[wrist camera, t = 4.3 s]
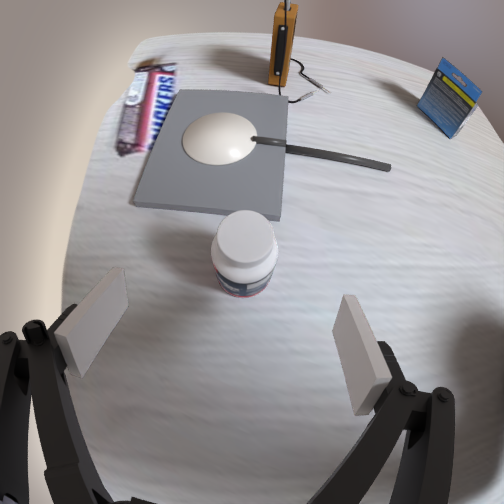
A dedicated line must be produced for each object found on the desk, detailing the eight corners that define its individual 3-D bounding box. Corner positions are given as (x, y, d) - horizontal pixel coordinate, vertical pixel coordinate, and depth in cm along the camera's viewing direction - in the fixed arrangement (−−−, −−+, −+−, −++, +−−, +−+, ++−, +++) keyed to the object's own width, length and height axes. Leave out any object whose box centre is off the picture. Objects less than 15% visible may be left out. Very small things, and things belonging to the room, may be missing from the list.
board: (376, 120, 37) (380, 112, 35) (397, 238, 30) (405, 231, 28) (180, 95, 37) (179, 86, 36) (136, 206, 30) (131, 198, 28)
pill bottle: (206, 265, 28) (192, 225, 20) (249, 238, 29) (253, 189, 21) (237, 309, 27) (234, 286, 18) (281, 279, 28) (298, 243, 19)
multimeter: (330, 112, 37) (365, -7, 18) (263, 99, 37) (274, -25, 19) (330, 66, 42) (352, -26, 24) (276, 55, 43) (286, -38, 24)
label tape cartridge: (457, 135, 38) (489, 91, 27) (449, 140, 38) (483, 92, 26) (425, 102, 41) (450, 56, 29) (415, 105, 40) (441, 56, 29)
